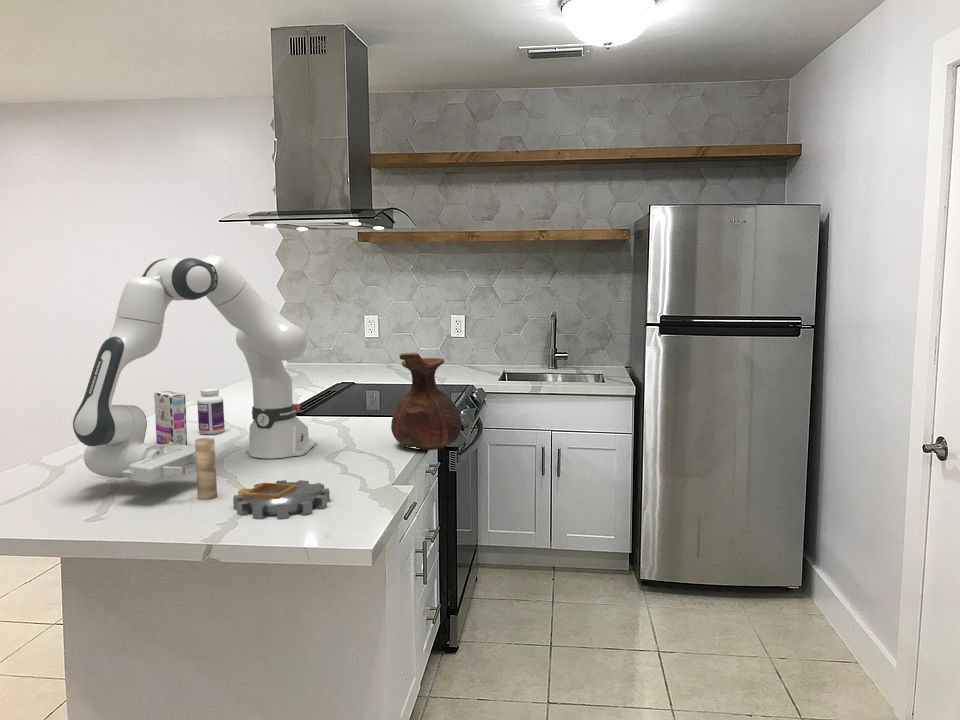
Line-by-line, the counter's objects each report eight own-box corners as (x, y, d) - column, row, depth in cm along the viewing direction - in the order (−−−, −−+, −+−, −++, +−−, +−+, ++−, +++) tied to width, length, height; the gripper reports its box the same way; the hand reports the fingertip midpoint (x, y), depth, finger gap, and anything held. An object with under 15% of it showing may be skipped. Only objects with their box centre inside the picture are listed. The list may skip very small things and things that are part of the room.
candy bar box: (188, 447, 235) (186, 394, 233) (172, 450, 231) (169, 396, 229) (171, 441, 242) (168, 390, 240) (155, 444, 239) (153, 392, 237)
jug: (379, 443, 241) (377, 347, 237) (441, 435, 251) (441, 343, 247) (408, 458, 222) (406, 354, 218) (474, 449, 232) (474, 350, 229)
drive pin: (204, 493, 189) (202, 437, 187) (220, 494, 188) (218, 438, 186) (193, 498, 184) (191, 441, 183) (210, 500, 183) (207, 442, 181)
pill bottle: (224, 429, 260) (223, 387, 258) (224, 434, 252) (222, 390, 250) (199, 431, 257) (197, 388, 255) (198, 436, 250) (196, 392, 248)
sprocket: (265, 487, 194) (264, 474, 194) (344, 493, 188) (344, 480, 188) (214, 514, 173) (213, 499, 173) (302, 522, 168) (301, 507, 167)
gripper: (115, 460, 179) (167, 464, 175) (172, 440, 199) (219, 443, 195) (117, 486, 180) (168, 491, 176) (173, 464, 199) (221, 467, 196)
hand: (195, 465), depth 186 cm, fingers open, 8 cm apart
